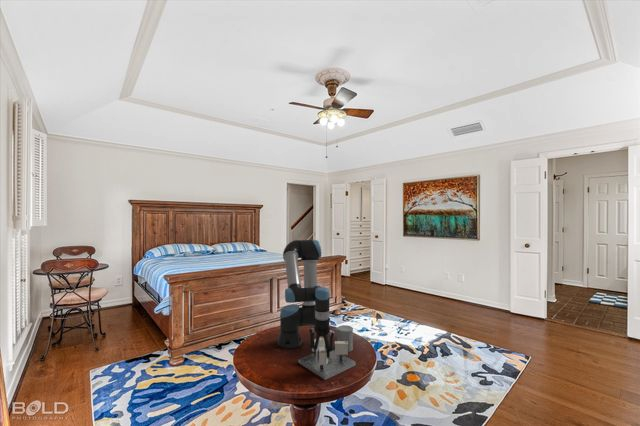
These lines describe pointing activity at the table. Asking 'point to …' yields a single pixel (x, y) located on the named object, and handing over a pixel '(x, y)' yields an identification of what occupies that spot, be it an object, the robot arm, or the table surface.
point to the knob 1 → (321, 357)
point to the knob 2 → (341, 348)
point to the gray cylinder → (345, 335)
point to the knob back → (320, 343)
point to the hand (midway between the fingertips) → (321, 362)
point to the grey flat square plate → (331, 368)
